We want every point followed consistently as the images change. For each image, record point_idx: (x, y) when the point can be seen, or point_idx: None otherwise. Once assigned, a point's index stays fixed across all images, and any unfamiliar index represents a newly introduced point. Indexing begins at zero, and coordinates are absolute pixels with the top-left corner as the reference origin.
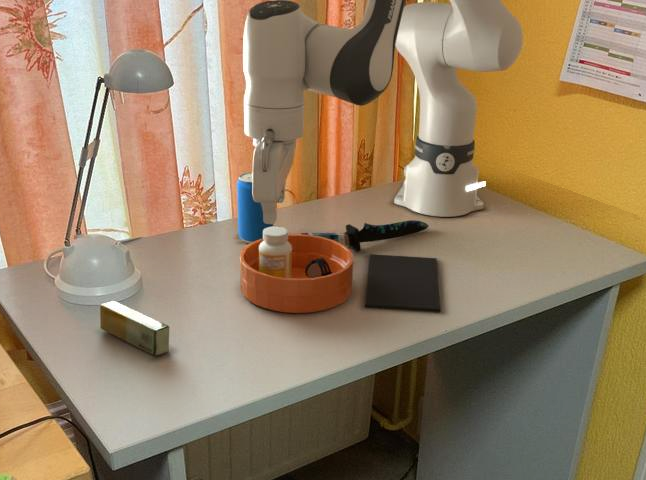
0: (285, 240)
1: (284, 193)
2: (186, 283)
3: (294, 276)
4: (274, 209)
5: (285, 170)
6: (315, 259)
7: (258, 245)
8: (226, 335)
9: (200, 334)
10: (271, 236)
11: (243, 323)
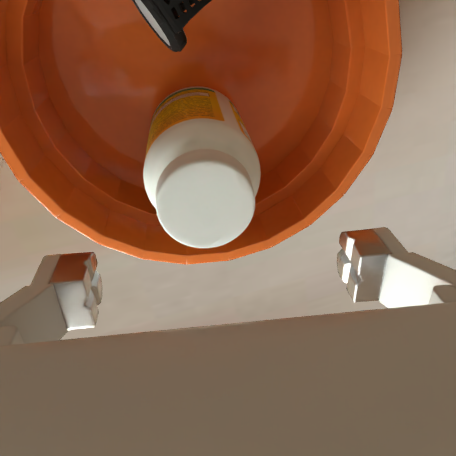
0: (228, 154)
1: (39, 272)
2: (213, 312)
3: (119, 88)
4: (439, 266)
5: (292, 397)
6: (181, 16)
7: (114, 231)
8: (441, 182)
9: (432, 228)
10: (254, 209)
11: (391, 161)
